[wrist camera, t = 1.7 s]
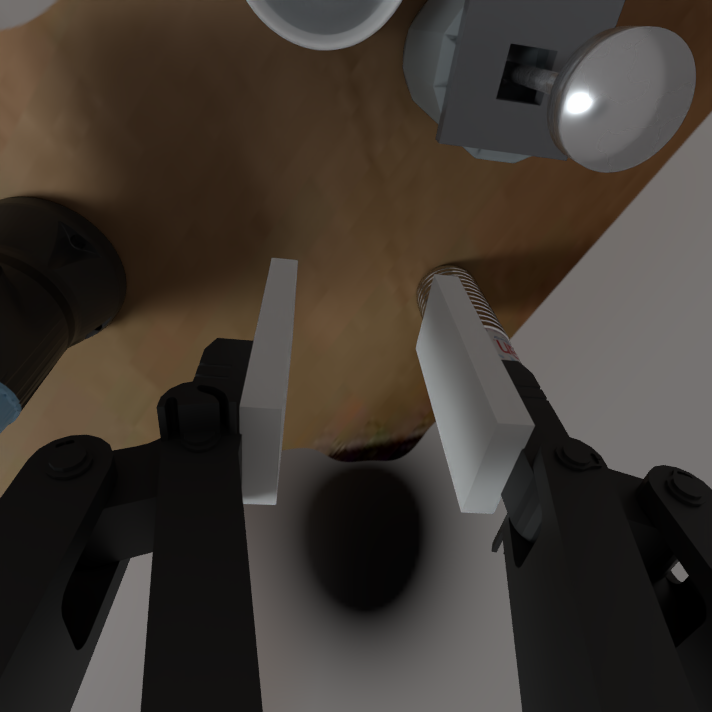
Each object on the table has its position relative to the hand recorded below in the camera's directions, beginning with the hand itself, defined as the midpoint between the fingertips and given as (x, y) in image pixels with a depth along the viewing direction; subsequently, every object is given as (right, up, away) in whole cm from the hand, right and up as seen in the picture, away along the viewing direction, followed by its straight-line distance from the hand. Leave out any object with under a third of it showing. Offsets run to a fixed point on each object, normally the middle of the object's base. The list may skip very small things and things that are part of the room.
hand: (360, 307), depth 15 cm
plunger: (+9, +17, +17) cm, 26 cm away
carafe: (+9, +25, +25) cm, 37 cm away
